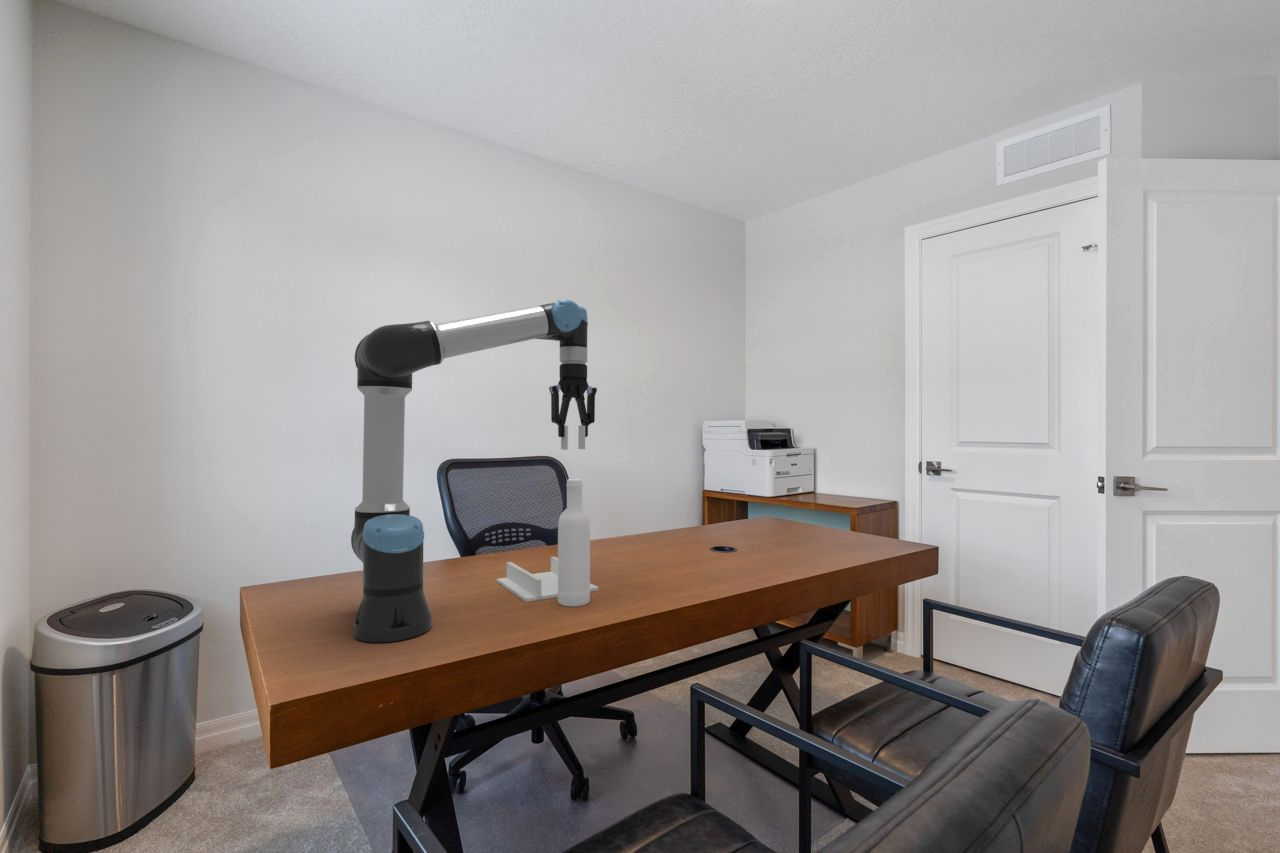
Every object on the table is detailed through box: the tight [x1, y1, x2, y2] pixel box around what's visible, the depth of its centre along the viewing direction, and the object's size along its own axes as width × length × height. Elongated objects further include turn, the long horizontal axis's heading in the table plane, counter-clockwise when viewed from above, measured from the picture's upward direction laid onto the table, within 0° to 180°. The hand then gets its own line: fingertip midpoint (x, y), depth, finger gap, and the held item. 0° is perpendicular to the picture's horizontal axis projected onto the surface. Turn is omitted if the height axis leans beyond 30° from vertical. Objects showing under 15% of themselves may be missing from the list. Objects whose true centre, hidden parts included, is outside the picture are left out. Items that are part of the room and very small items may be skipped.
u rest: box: [496, 556, 600, 603], centre depth 159 cm, size 22×20×5 cm
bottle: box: [557, 478, 591, 607], centre depth 145 cm, size 8×8×30 cm
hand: (573, 449), depth 162 cm, fingers open, 4 cm apart
